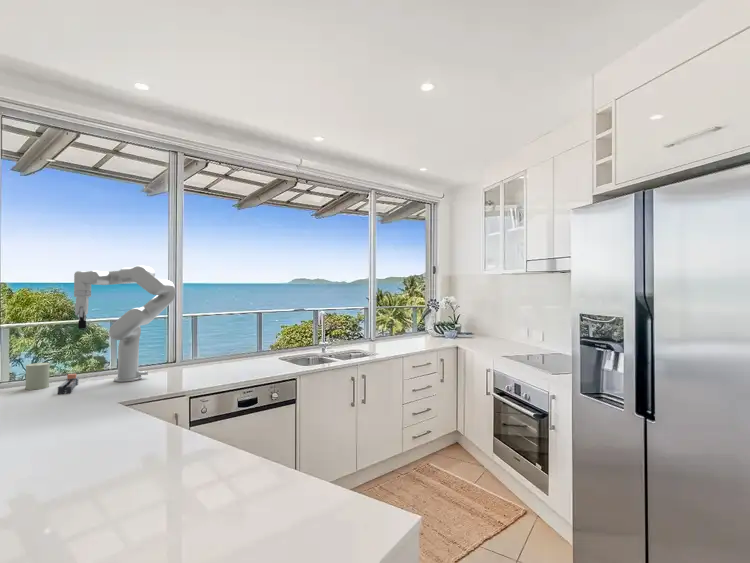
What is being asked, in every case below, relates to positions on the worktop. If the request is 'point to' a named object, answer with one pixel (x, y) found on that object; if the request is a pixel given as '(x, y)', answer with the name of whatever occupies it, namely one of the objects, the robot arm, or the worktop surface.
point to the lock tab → (71, 376)
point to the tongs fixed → (72, 384)
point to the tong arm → (63, 387)
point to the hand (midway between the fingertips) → (82, 328)
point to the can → (37, 376)
